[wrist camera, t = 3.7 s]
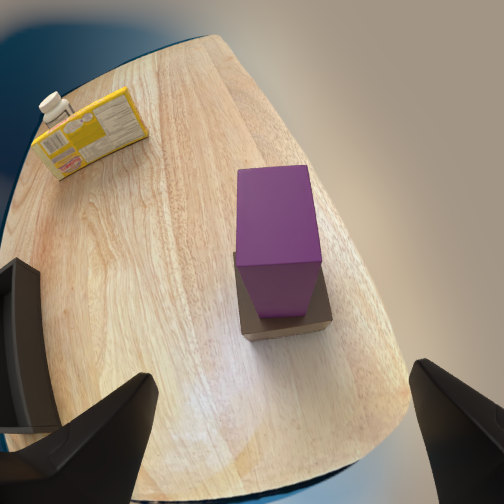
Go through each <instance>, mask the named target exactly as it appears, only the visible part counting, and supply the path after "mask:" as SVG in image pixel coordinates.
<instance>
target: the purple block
mask: <svg viewBox="0 0 504 504" xmlns="http://www.w3.org/2000/svg"><path fill="white" fill-rule="evenodd" d="M321 263H322V255H321V248H320V240H319V233H318V226H317V220H316V213H315V207H314V201H313V195H312V189H311V183H310V178H309V172H308V167H307V165H294V166H277V167H264V168H251V169H241V170H238V177H237V228H236V267H237V269H238V272H239V274H240V276H241V278H242V281H243V283H244V285H245V287H246V289H247V292H248V294H249V296H250V298H251V301H252V303H253V305H254V307H255V309H256V312H257V314H258V316H259V318H279V317H295V316H305V315H306V312H307V309H308V305H309V302H310V299H311V296H312V293H313V290H314V286H315V283H316V280H317V277H318V273H319V270H320V266H321Z"/></svg>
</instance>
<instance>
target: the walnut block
mask: <svg viewBox="0 0 504 504" xmlns="http://www.w3.org/2000/svg"><path fill="white" fill-rule="evenodd" d="M233 257H234V267H235V277H236V287H237V296H238V305H239V315H240V324H241V333H242V335H243V336H244V337H245V338H246V339H247V340H248V341H249V342H251V341H258V340H266V339H273V338H279V337H286V336H292V335H298V334H304V333H309V332H315V331H320V330H324V329H325V328H326V327H327V326H328V325H329V324H330V322H331V321H332V320H333V319H332V314H331V309H330V304H329V299H328V294H327V290H326V285H325V280H324V276H323V271H322V267H321V266H320V270H319V273H318V277H317V280H316V283H315V286H314V290H313V293H312V296H311V299H310V302H309V305H308V309H307V312H306V315H305V316H295V317H279V318H259V316H258V314H257V312H256V309H255V307H254V305H253V303H252V301H251V298H250V296H249V294H248V292H247V289H246V287H245V285H244V283H243V281H242V278H241V276H240V274H239V272H238V269H237V267H236V252H233Z"/></svg>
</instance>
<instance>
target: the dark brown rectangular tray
mask: <svg viewBox="0 0 504 504" xmlns="http://www.w3.org/2000/svg"><path fill="white" fill-rule="evenodd" d="M60 428H62V425H61V422H60V419H59V415H58V412H57V408H56V404H55V400H54V396H53V391H52V387H51V382H50V377H49V372H48V366H47V360H46V354H45V347H44V339H43V330H42V318H41V302H40V272H39V271H37V270H36V269H34V268H33V267H31V266H29V265H28V264H26V263H25V262H23V261H21V260H20V259H18V258H17V257H16V258H15V259H13V260H12V261H10V262H9V263H8V264H6V265H5V266H4V267H2V268H1V269H0V433H7V434H36V433H53V432H55V431H57V430H58V429H60Z"/></svg>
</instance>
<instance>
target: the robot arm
mask: <svg viewBox="0 0 504 504" xmlns="http://www.w3.org/2000/svg"><path fill="white" fill-rule="evenodd" d="M409 385H410V389H411V393H412V397H413V402H414V407H415V412H416V416H417V420H418V423H419V427H420V430H421V433H422V436H423V439H424V443H425V446H426V450H427V453H428V457H429V460H430V465H431V469H432V473H433V477H434V481H435V485H436V489H437V494H438V499H439V504H504V409H503V408H502V407H500V406H499V405H497V404H495V403H494V402H493V401H491V400H490V399H488V398H486V397H485V396H483V395H482V394H480V393H479V392H477V391H476V390H474V389H473V388H471V387H470V386H468V385H467V384H465V383H463V382H462V381H461V380H459V379H458V378H456V377H454V376H453V375H451V374H450V373H448V372H447V371H445V370H444V369H442V368H440V367H439V366H438V365H436V364H434V363H433V362H431V361H430V360H428V359H426V358H424V359H420V360H416V361H415V362H414V365H413V368H412V371H411V373H410V376H409ZM158 394H159V392H158V388H157V385H156V383H155V381H154V379H153V376H152V375H151V374H149V373H142V372H141V373H138V374H137V375H136V376H134V377H133V378H131V379H130V380H129V381H127V382H126V383H125V384H123V385H122V386H120V387H119V388H118V389H116V390H115V391H113V392H112V393H111V394H109V395H108V396H106V397H105V398H104V399H102V400H101V401H99V402H98V403H96V404H95V405H94V406H92V407H91V408H89V409H88V410H86V411H85V412H84V413H82V414H81V415H79V416H78V417H76V418H75V419H73V420H72V421H71V422H70V423H67V424H66V425H65V426H63V427H62V428H60V429H58V430H57V431H55V432H54V433H52V434H50V435H48V436H47V437H45V438H43V439H41V440H39V441H37V442H35V443H33V444H31V445H29V446H27V447H25V448H23V449H21V450H19V451H16V452H0V504H130V500H131V497H132V493H133V489H134V486H135V482H136V479H137V476H138V472H139V469H140V466H141V462H142V459H143V456H144V452H145V449H146V446H147V443H148V440H149V436H150V433H151V430H152V425H153V420H154V415H155V410H156V405H157V400H158Z"/></svg>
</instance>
